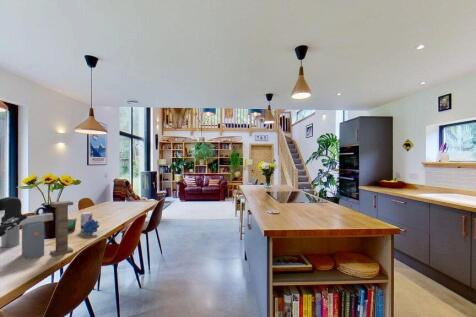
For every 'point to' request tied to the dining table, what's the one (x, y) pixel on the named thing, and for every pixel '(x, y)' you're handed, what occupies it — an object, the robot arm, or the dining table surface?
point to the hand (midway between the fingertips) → (24, 215)
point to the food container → (71, 224)
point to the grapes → (90, 227)
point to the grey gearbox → (33, 240)
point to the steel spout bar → (36, 219)
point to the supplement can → (85, 218)
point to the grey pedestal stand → (61, 228)
